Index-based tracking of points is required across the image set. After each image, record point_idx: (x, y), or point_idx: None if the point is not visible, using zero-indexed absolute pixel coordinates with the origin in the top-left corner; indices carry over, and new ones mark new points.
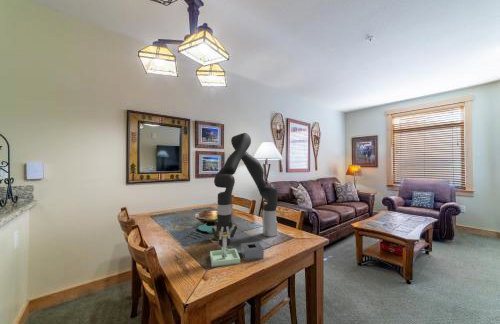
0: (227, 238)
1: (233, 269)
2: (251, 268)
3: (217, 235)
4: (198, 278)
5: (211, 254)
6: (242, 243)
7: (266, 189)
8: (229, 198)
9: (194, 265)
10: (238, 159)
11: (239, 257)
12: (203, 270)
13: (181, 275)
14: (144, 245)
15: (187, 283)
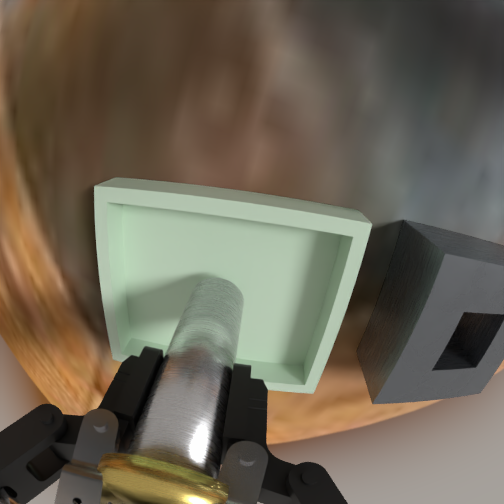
0: (222, 455)
1: None
2: (338, 414)
3: (61, 447)
4: (81, 382)
5: (104, 257)
6: (455, 262)
7: None
8: None
9: (38, 275)
10: None
11: (316, 383)
12: (88, 344)
13: (18, 330)
14: None
15: (55, 384)
